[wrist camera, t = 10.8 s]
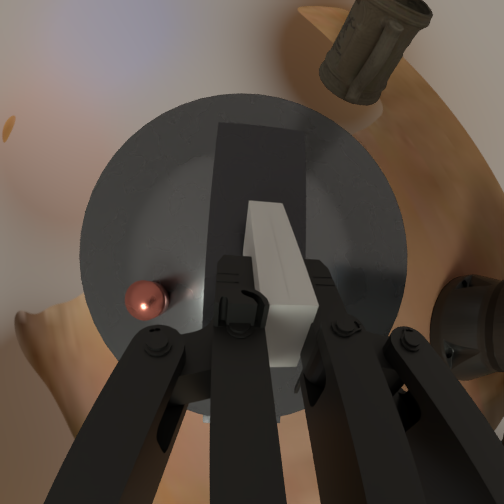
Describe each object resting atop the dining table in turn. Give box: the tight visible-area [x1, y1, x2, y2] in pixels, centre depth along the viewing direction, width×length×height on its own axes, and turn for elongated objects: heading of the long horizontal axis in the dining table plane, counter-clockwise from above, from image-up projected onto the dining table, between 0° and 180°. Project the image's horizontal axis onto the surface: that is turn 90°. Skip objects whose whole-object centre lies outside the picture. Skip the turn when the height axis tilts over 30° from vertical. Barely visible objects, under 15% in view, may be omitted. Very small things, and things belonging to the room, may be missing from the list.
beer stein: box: [319, 0, 433, 105], centre depth 30 cm, size 15×11×20 cm
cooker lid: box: [80, 94, 407, 417], centre depth 16 cm, size 21×21×4 cm
